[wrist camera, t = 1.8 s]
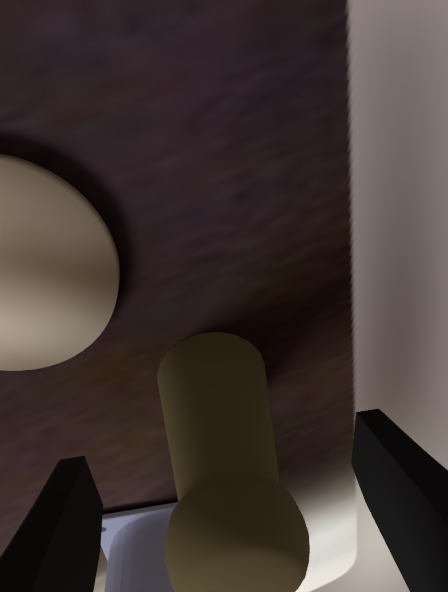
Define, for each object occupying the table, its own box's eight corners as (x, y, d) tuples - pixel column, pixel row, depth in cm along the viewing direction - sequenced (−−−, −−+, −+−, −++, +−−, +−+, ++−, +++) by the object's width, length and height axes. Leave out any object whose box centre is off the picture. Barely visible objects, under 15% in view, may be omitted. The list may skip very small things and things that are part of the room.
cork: (273, 332, 22) (355, 536, 13) (257, 416, 25) (314, 634, 15) (158, 330, 21) (152, 550, 12) (155, 417, 24) (149, 650, 14)
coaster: (138, 342, 21) (137, 354, 20) (-63, 371, 21) (-73, 384, 20) (90, 137, 16) (86, 141, 15) (-177, 166, 16) (-197, 172, 15)
